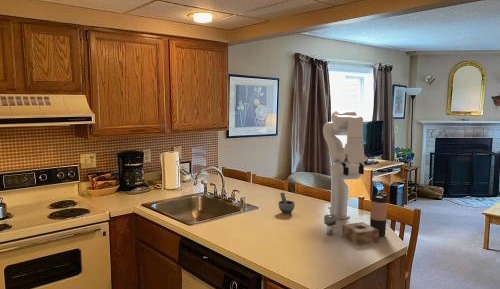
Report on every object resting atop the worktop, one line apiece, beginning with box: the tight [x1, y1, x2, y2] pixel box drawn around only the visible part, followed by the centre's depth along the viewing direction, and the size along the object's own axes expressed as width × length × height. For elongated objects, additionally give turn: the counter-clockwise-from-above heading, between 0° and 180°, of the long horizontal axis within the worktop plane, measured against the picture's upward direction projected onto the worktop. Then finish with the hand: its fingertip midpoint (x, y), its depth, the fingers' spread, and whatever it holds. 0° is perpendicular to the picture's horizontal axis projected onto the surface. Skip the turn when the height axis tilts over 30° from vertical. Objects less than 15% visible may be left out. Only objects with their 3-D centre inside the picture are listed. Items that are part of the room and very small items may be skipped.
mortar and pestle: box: [278, 192, 296, 216], centre depth 216 cm, size 11×9×12 cm
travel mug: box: [369, 193, 388, 238], centre depth 180 cm, size 8×8×20 cm
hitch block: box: [341, 221, 380, 246], centre depth 175 cm, size 12×12×6 cm
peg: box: [323, 214, 337, 236], centre depth 182 cm, size 6×6×9 cm
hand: (353, 174), depth 183 cm, fingers open, 9 cm apart
